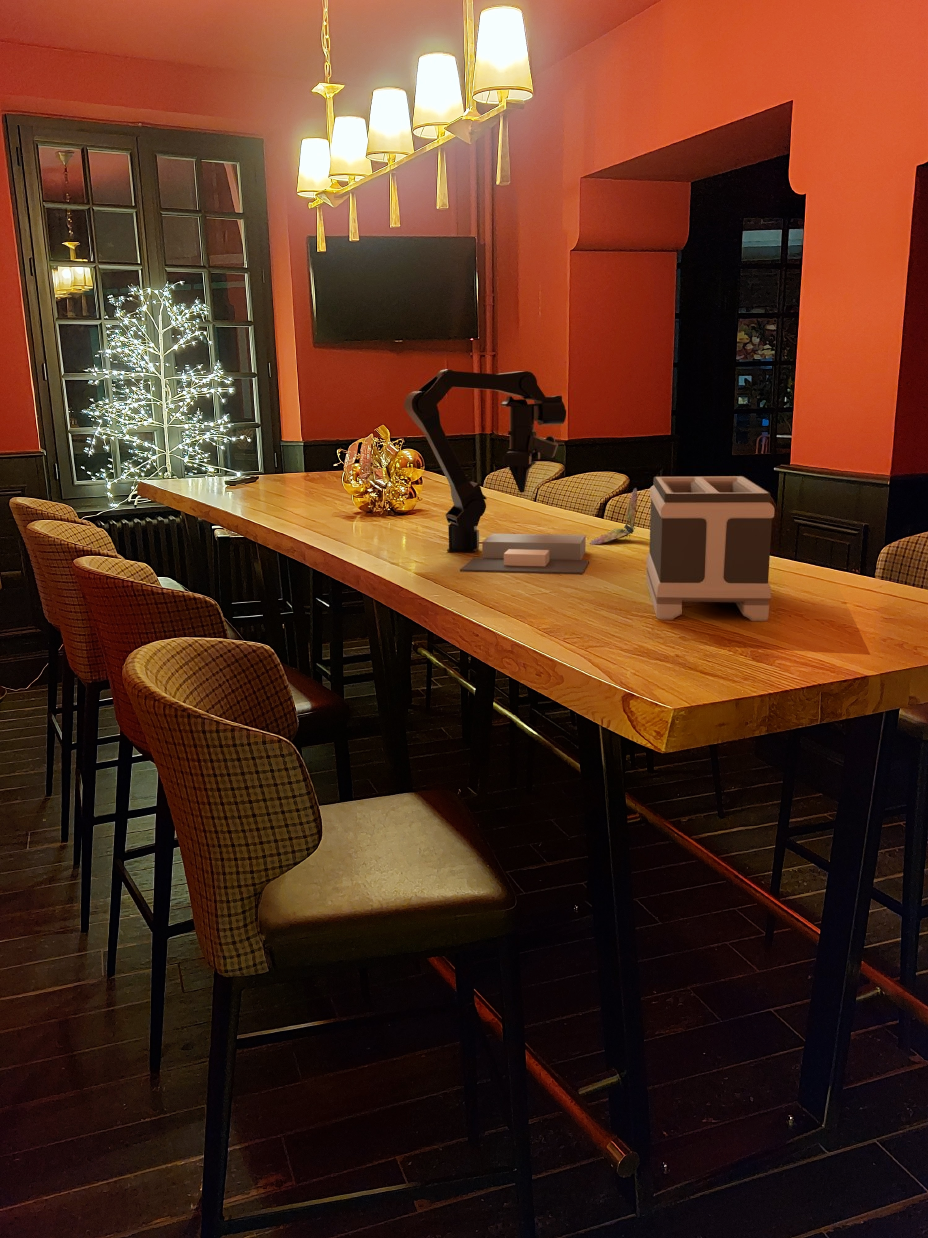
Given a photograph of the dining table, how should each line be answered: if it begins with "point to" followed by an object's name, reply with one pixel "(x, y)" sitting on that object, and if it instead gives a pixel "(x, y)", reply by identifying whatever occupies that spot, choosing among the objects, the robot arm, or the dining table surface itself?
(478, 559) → the mat
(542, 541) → the block
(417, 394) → the robot arm
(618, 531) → the butterfly
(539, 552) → the domino
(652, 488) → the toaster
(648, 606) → the dining table surface
